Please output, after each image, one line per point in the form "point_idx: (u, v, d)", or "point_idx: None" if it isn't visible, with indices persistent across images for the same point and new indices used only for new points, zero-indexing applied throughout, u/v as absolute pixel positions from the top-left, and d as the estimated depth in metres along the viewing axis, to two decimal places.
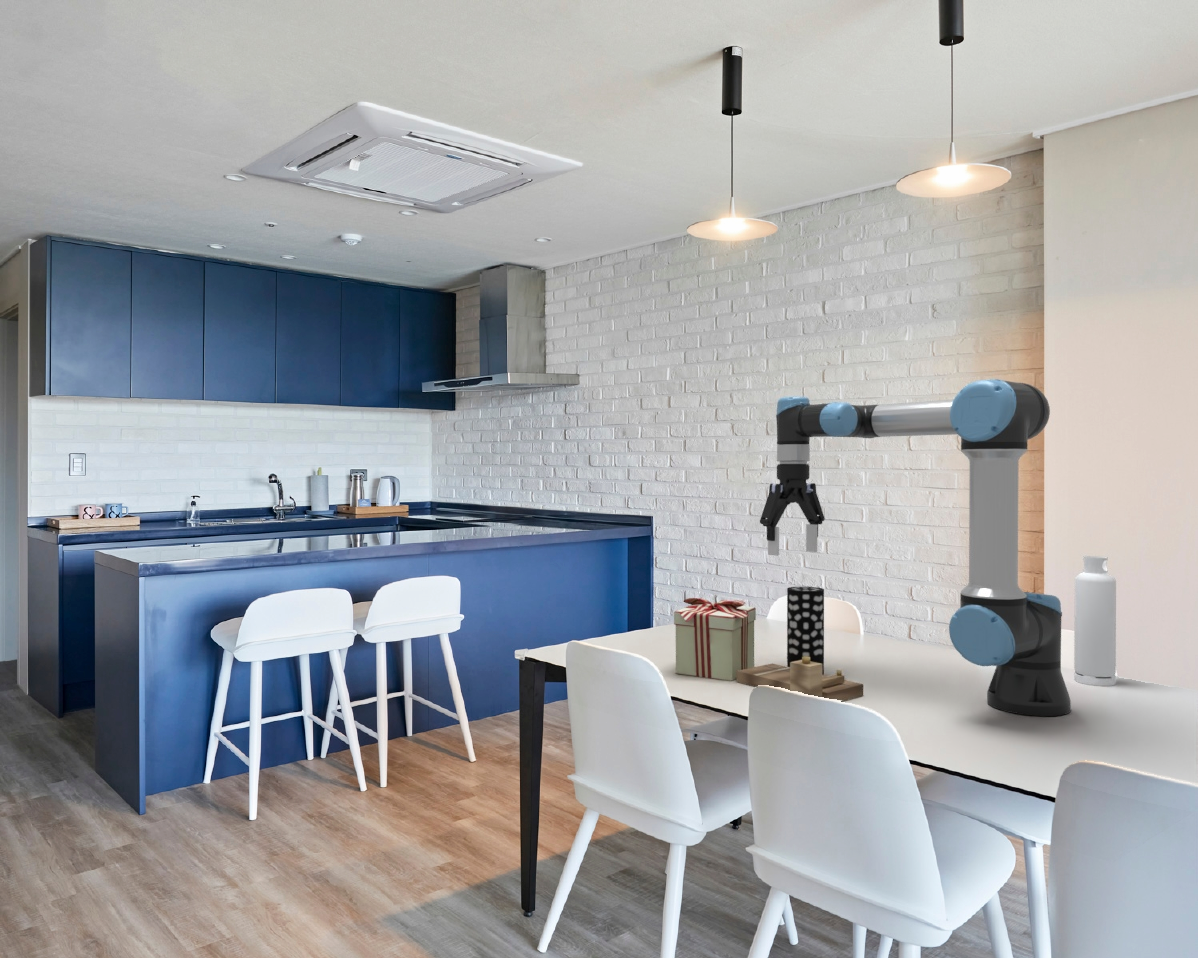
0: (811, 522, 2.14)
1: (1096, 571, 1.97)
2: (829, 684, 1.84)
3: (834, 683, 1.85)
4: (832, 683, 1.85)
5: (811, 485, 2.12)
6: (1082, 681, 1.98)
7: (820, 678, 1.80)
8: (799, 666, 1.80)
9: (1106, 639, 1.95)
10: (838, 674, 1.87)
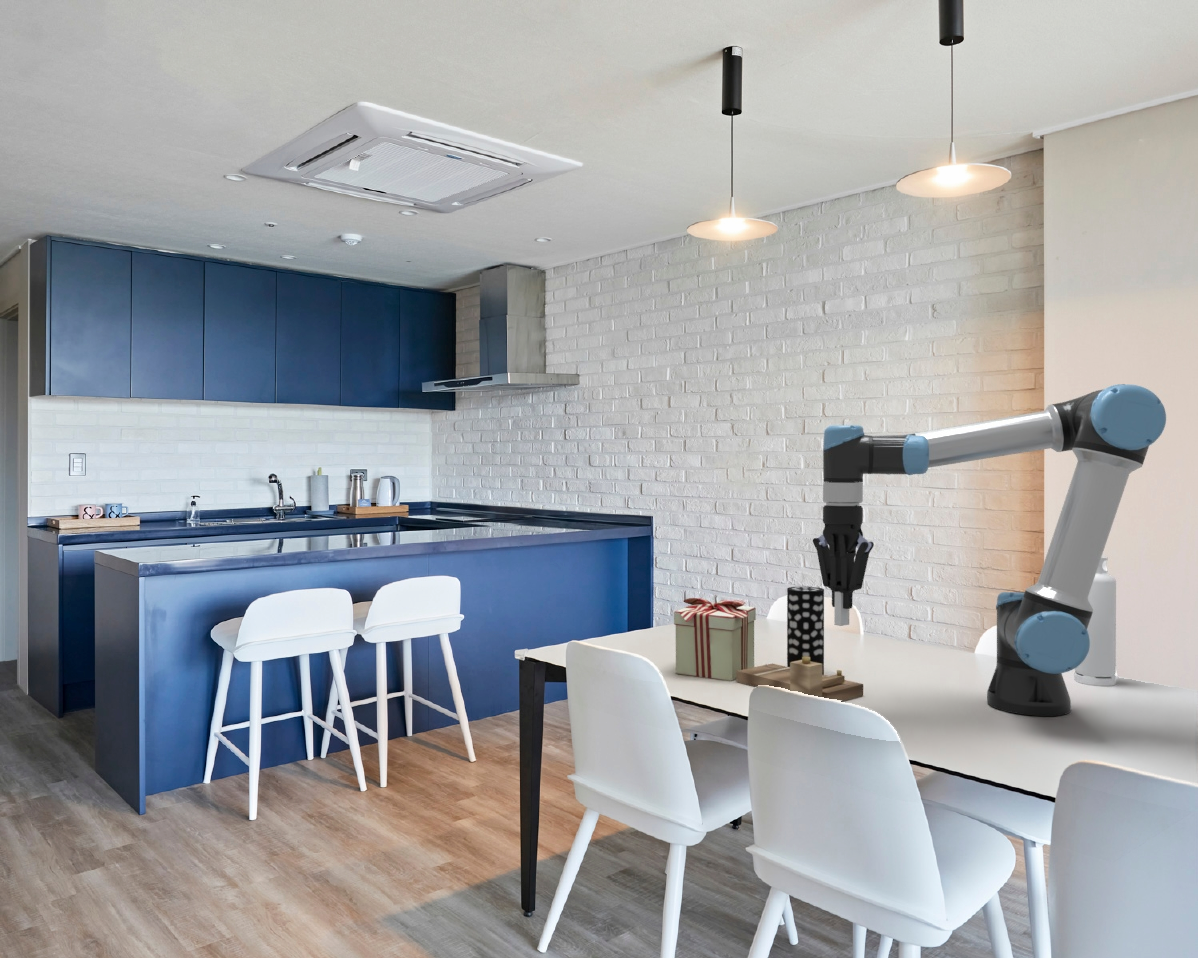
0: None
1: (1096, 571, 1.97)
2: (829, 684, 1.84)
3: (834, 683, 1.85)
4: (832, 683, 1.85)
5: None
6: (1082, 681, 1.98)
7: (820, 678, 1.80)
8: (799, 666, 1.80)
9: (1106, 639, 1.95)
10: (838, 674, 1.87)
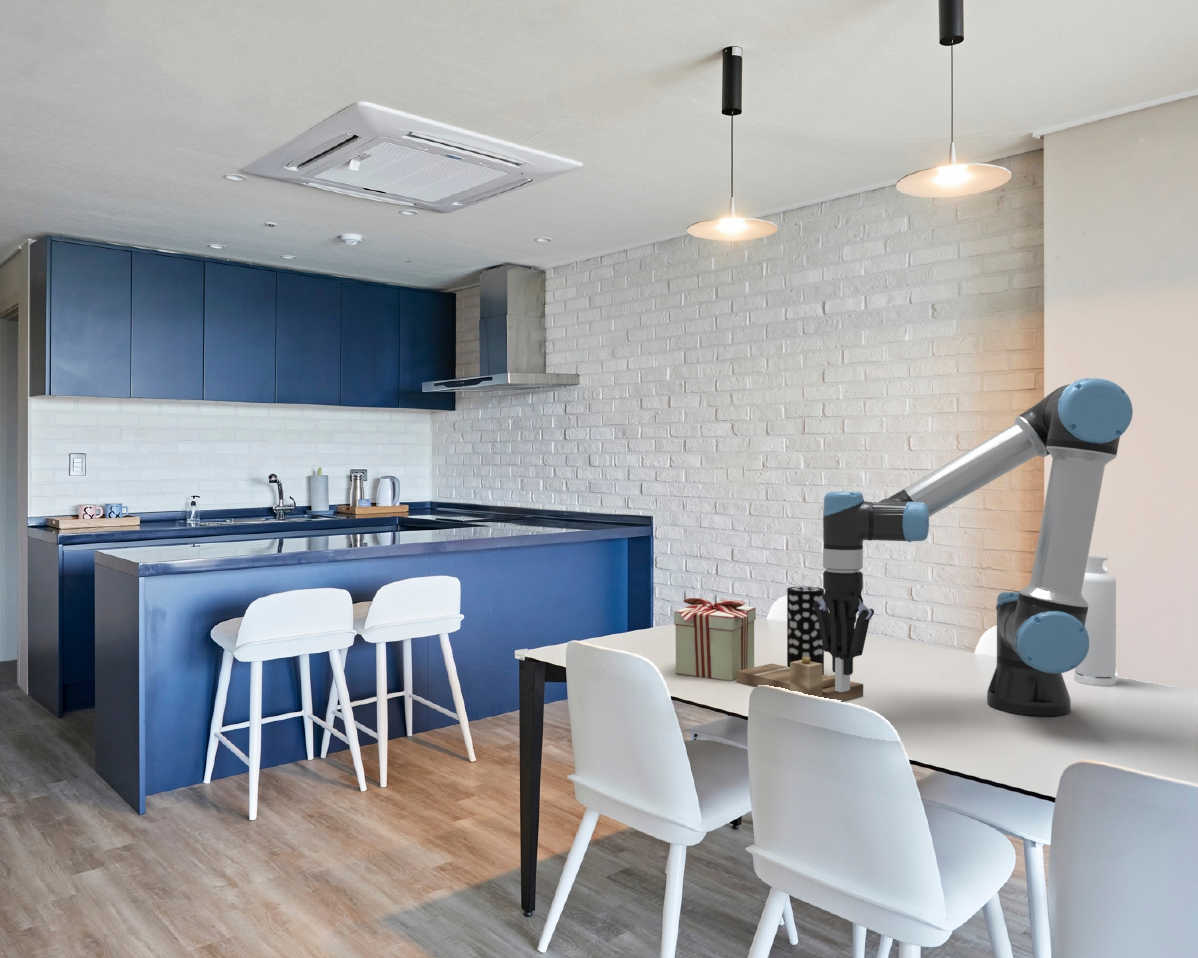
0: None
1: (1096, 571, 1.97)
2: (829, 684, 1.84)
3: (834, 683, 1.85)
4: (832, 683, 1.85)
5: None
6: (1082, 681, 1.98)
7: (820, 678, 1.80)
8: (799, 666, 1.80)
9: (1106, 639, 1.95)
10: None
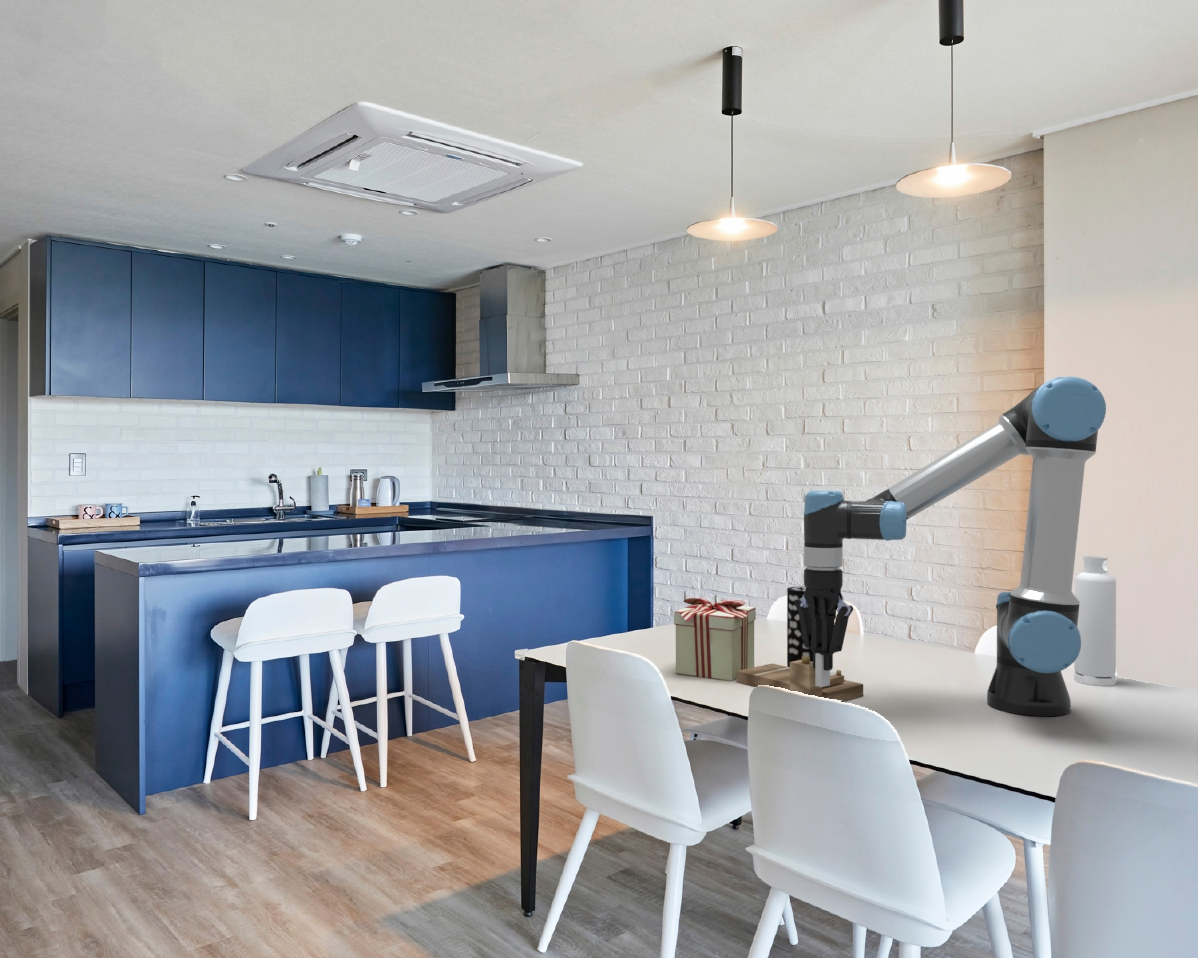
0: None
1: (1096, 571, 1.97)
2: None
3: (834, 683, 1.85)
4: (832, 683, 1.85)
5: None
6: (1082, 681, 1.98)
7: None
8: (799, 666, 1.80)
9: (1106, 639, 1.95)
10: (838, 674, 1.88)
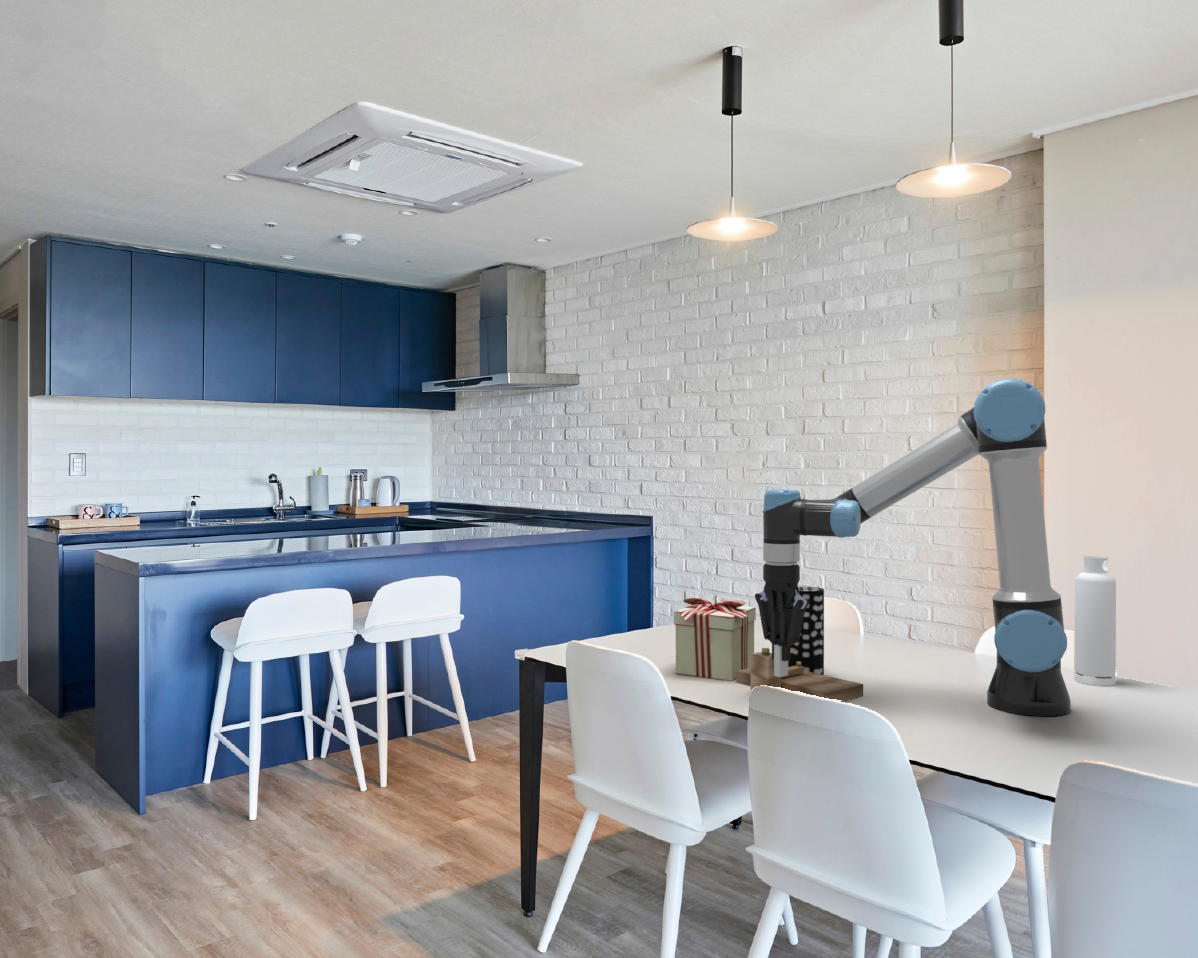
0: None
1: (1096, 571, 1.97)
2: (788, 674, 1.93)
3: (793, 674, 1.94)
4: (791, 674, 1.94)
5: None
6: (1082, 681, 1.98)
7: None
8: (759, 657, 1.89)
9: (1106, 639, 1.95)
10: (797, 665, 1.96)
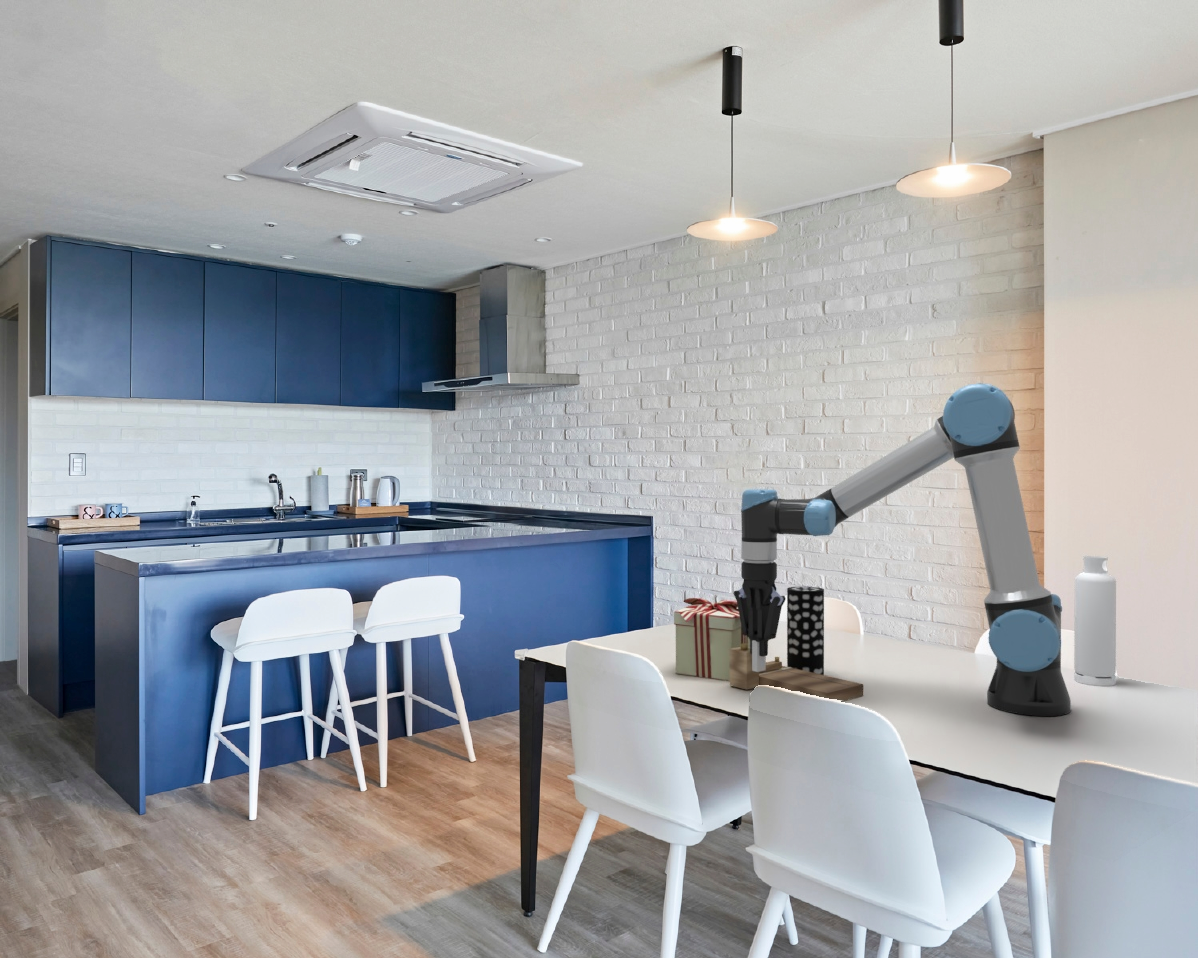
0: None
1: (1096, 571, 1.97)
2: (766, 669, 1.98)
3: (771, 668, 1.99)
4: (769, 668, 1.98)
5: None
6: (1082, 681, 1.98)
7: None
8: (737, 653, 1.93)
9: (1106, 639, 1.95)
10: (776, 660, 2.01)
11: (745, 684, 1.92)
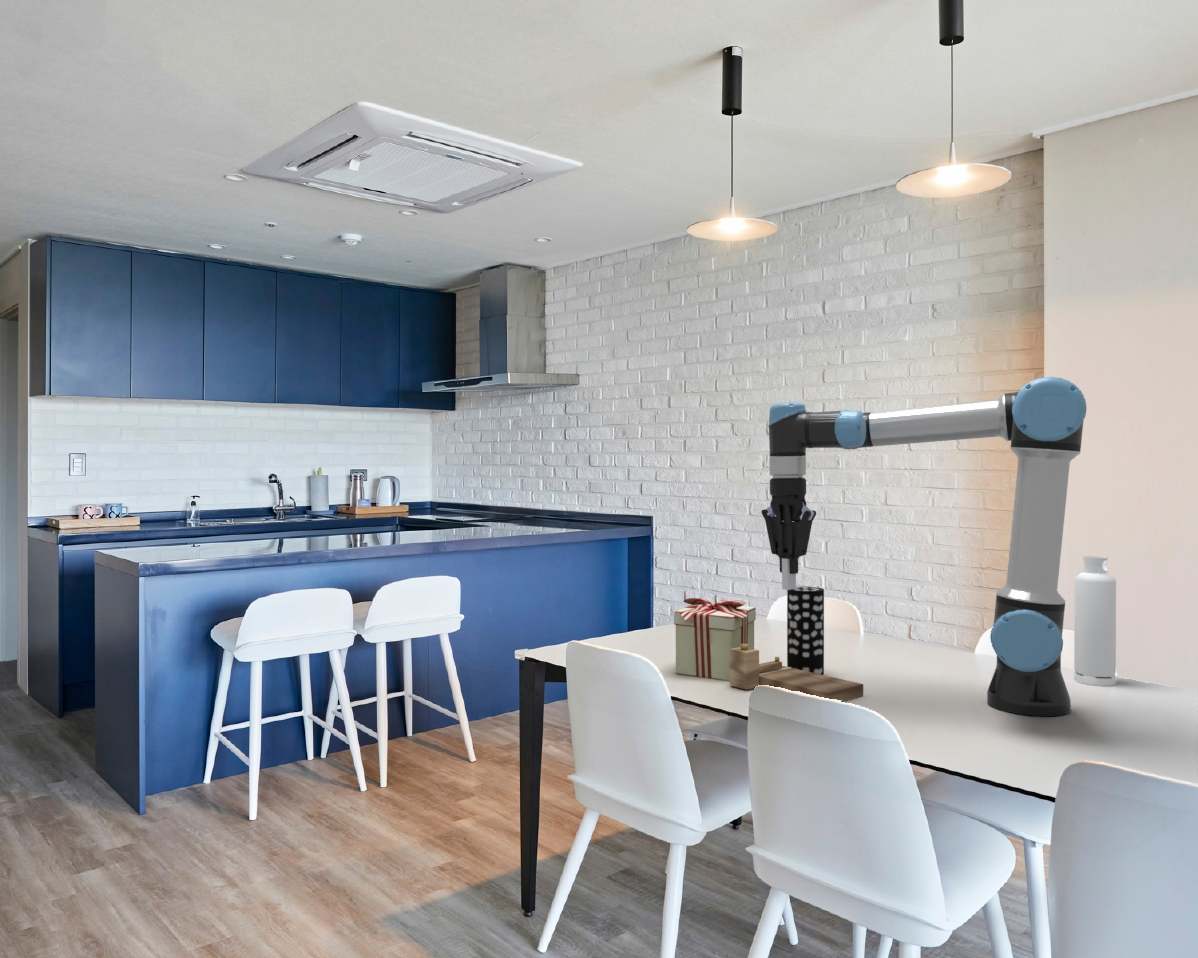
0: None
1: (1096, 571, 1.97)
2: (767, 669, 1.98)
3: (772, 668, 1.99)
4: (770, 668, 1.98)
5: None
6: (1082, 681, 1.98)
7: (757, 663, 1.94)
8: (737, 653, 1.93)
9: (1106, 639, 1.95)
10: (776, 660, 2.01)
11: (745, 684, 1.92)
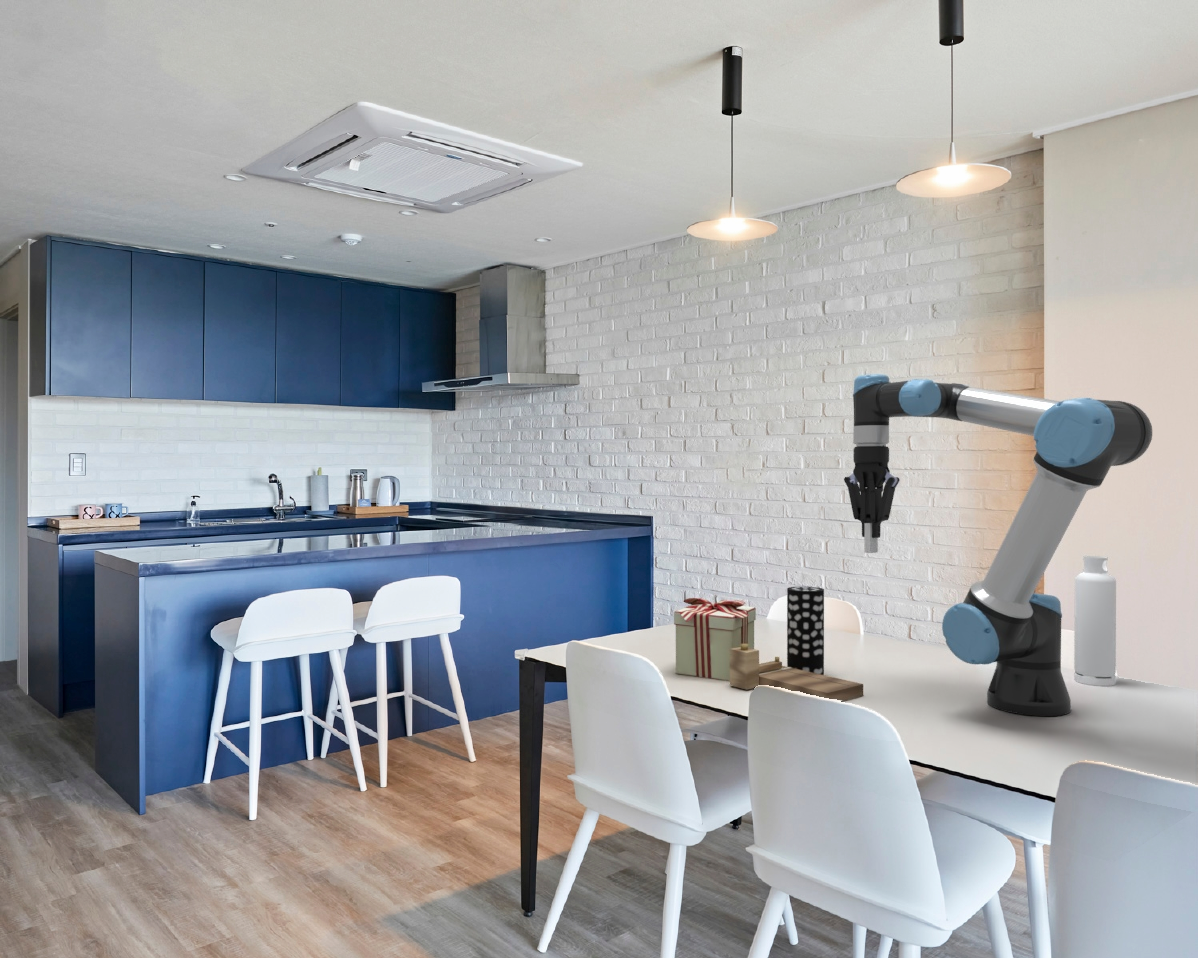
0: None
1: (1096, 571, 1.97)
2: (767, 669, 1.98)
3: (772, 668, 1.99)
4: (770, 668, 1.98)
5: None
6: (1082, 681, 1.98)
7: (757, 663, 1.94)
8: (737, 653, 1.93)
9: (1106, 639, 1.95)
10: (776, 660, 2.01)
11: (745, 684, 1.92)
